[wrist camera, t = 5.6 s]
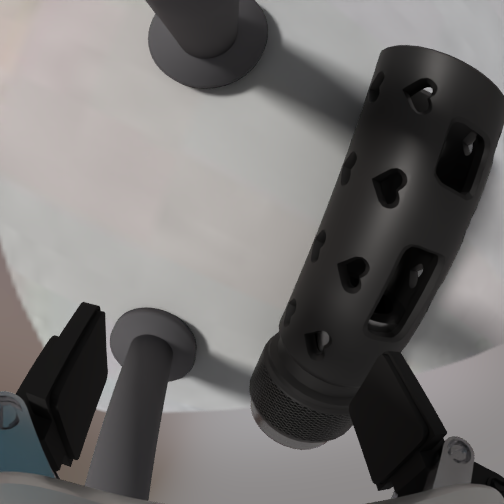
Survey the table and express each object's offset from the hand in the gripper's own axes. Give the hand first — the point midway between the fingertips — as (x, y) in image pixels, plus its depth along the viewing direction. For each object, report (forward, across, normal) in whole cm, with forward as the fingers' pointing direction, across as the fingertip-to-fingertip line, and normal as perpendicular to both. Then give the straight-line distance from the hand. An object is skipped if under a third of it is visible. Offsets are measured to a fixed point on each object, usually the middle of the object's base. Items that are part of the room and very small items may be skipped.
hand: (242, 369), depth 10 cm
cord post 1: (+15, +5, +13) cm, 21 cm away
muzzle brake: (+16, -9, 0) cm, 18 cm away
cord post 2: (+15, +5, -13) cm, 21 cm away
